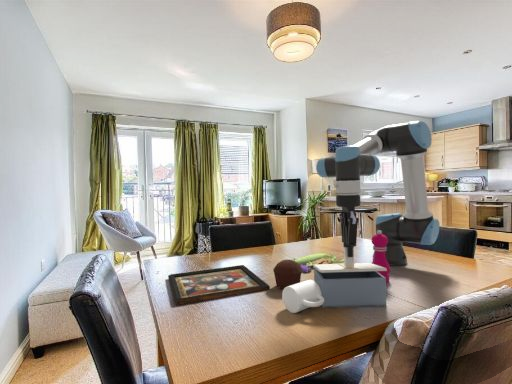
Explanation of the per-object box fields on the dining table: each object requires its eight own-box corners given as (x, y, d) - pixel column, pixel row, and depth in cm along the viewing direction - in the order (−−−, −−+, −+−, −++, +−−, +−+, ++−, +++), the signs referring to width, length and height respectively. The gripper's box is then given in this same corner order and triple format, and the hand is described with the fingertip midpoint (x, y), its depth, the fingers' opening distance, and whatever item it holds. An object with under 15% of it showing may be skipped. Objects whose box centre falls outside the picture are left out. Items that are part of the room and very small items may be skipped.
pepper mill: (389, 277, 118) (388, 228, 117) (391, 283, 111) (390, 231, 110) (370, 276, 120) (369, 228, 119) (371, 282, 113) (370, 231, 112)
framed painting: (178, 311, 94) (177, 303, 93) (159, 281, 125) (159, 275, 125) (278, 289, 111) (277, 282, 111) (240, 268, 142) (240, 262, 142)
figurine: (351, 271, 129) (351, 258, 129) (293, 274, 127) (292, 262, 127) (336, 260, 148) (336, 249, 147) (285, 263, 145) (284, 252, 145)
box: (369, 289, 105) (369, 265, 105) (386, 306, 91) (385, 278, 91) (314, 291, 106) (313, 267, 106) (322, 307, 92) (321, 279, 92)
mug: (282, 308, 93) (281, 283, 93) (304, 300, 99) (303, 276, 98) (309, 322, 83) (308, 294, 83) (332, 312, 89) (331, 286, 89)
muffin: (295, 294, 104) (294, 266, 104) (268, 289, 110) (267, 263, 110) (307, 283, 114) (306, 258, 114) (282, 279, 120) (281, 255, 120)
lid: (369, 265, 105) (369, 262, 105) (386, 270, 91) (386, 267, 91) (313, 266, 106) (312, 264, 106) (320, 272, 91) (320, 269, 91)
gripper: (331, 193, 101) (332, 261, 101) (341, 195, 88) (343, 272, 88) (353, 193, 100) (354, 260, 101) (366, 194, 87) (367, 272, 88)
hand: (349, 266), depth 95 cm, fingers closed
